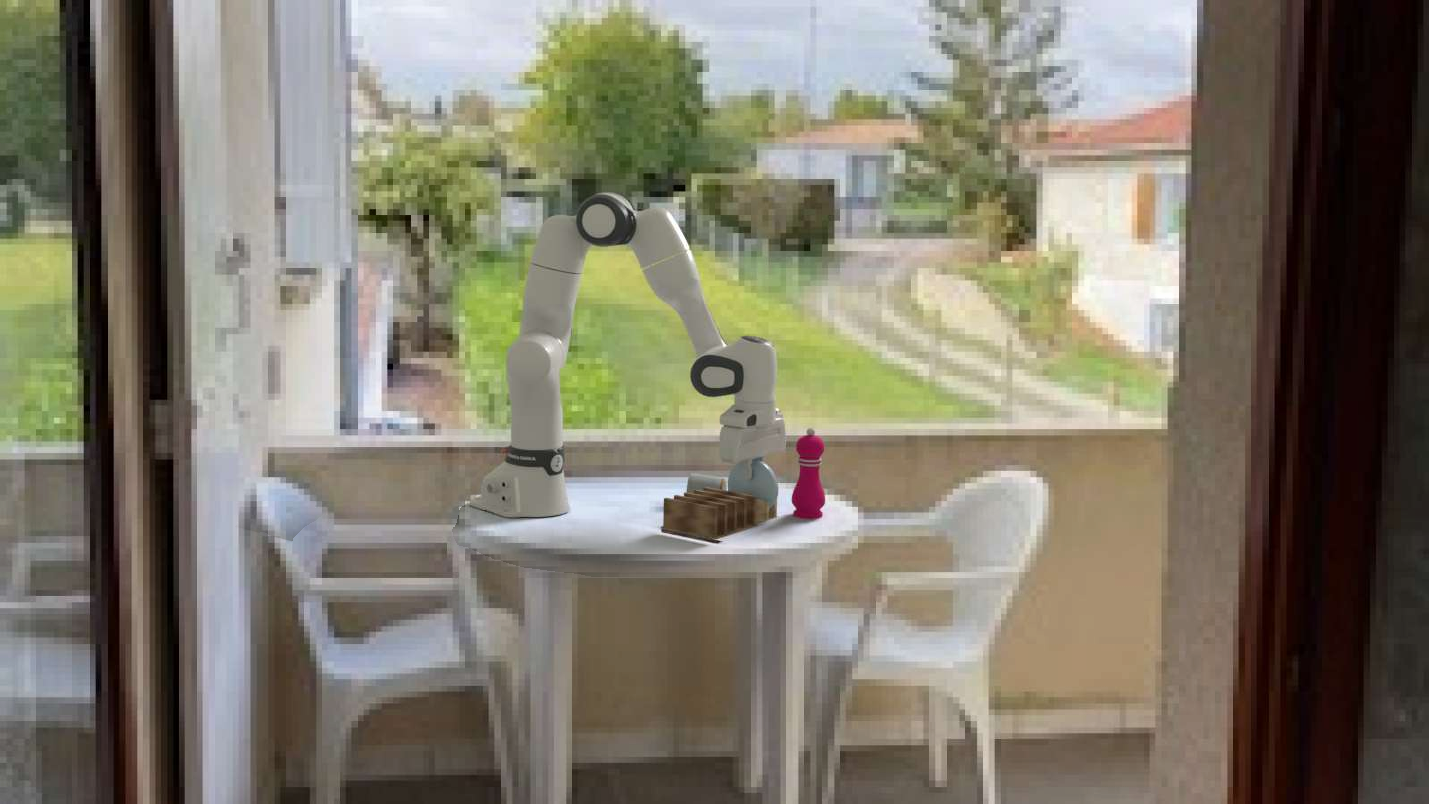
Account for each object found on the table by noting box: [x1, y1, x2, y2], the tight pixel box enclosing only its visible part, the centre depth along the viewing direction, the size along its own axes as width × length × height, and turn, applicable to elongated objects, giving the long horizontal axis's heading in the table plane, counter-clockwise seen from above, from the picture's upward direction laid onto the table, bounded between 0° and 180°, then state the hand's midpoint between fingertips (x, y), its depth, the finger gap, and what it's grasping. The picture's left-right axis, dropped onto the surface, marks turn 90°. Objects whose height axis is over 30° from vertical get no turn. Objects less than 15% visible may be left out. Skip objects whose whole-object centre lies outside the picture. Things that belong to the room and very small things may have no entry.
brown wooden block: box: [756, 499, 780, 522], centre depth 312 cm, size 10×6×5 cm, turn 54°
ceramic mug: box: [685, 472, 728, 493], centre depth 323 cm, size 11×8×8 cm
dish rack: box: [660, 487, 758, 545], centre depth 301 cm, size 14×14×7 cm
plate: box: [727, 458, 779, 510], centre depth 311 cm, size 12×2×12 cm, turn 54°
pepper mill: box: [791, 427, 826, 520], centre depth 312 cm, size 7×7×20 cm
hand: (752, 477), depth 311 cm, fingers closed on plate, 2 cm apart
